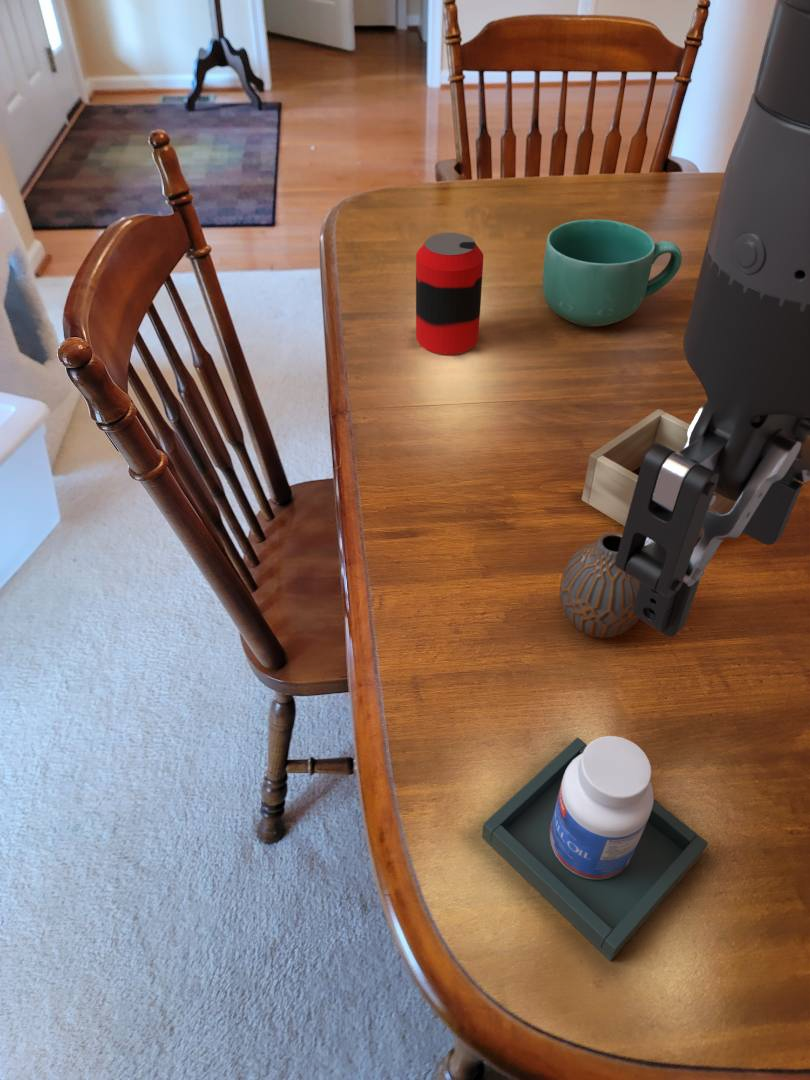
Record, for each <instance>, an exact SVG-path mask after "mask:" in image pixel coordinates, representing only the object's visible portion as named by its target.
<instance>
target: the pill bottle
mask: <svg viewBox="0 0 810 1080" xmlns="http://www.w3.org/2000/svg"><path fill="white" fill-rule="evenodd" d="M586 745H587V747H586V748H585V749H584V751H583V753H582V754H580V755H579V756H577V757H576V758H575V759H574V760H573V761H572V762H571V763H570V764H569V766H568V767H567V769H566V771H565V773H564V776H563V779H562V783H561V787H560V790H559V794H558V799H557V802H556V807H555V811H554V814H553V818H552V822H551V828H550V840H551V845H552V848H553V851H554V853H555V855H556V857H557V858H558V860H559V861H560V862H561V863H562V864H563V866H565V867H566V868H567V869H568V870H569V871H571V872H572V873H574V874H576V875H578V876H580V877H583V878H587V879H593V880H601V879H607V878H610V877H613V876H615V875H617V874H618V873H620V872H621V871H622V870H623V869H624V868H625V867H626V866H627V865H628V863H629V862H630V860H631V858H632V856H633V853H634V851H635V849H636V846H637V844H638V842H639V840H640V837H641V835H642V833H643V830H644V828H645V825H646V823H647V821H648V818H649V816H650V813H651V810H652V807H653V800H654V799H655V798H654V789H653V784H652V782H651V780H652V766H651V763H650V760H649V758H648V756H647V755H646V753H645V752H644V750H643V749H642V748H641V747H640V746H638V745H637V744H636V743H634V742H633V741H631V740H630V739H627V738H625V737H621V736H616V735H604V736H601V737H597V738H595V739H594V740H592V741H591V742H589V743H588V744H586Z"/></svg>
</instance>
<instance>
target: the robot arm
mask: <svg viewBox="0 0 810 1080" xmlns="http://www.w3.org/2000/svg"><path fill="white" fill-rule="evenodd" d="M773 6H774V7H773V10H772V15H771V18H770V22H769V26H768V30H767V35H766V38H765V43H764V46H763V51H762V55H761V58H760V62H759V66H758V70H757V74H756V78H755V82H754V86H753V92H752V94H751V97H750V100H749V104H748V107H747V110H746V112H745V116H744V119H743V121H742V123H741V125H740V126H741V127H740V129H739V132H738V134H737V137H736V139H735V142H734V143H733V146H732V150H731V152H730V154H729V158H728V161H727V163H726V167H725V170H724V173H723V177H722V181H721V185H720V189H719V193H718V198H717V201H716V205H715V210H714V213H713V218H712V222H711V226H710V231H709V234H708V238H707V242H706V246H705V250H704V254H703V257H702V258H703V259H702V261H701V262H702V263H701V266H700V271H699V275H698V278H697V283H696V286H695V287H696V288H695V291H694V295H693V298H692V304H691V307H690V311H689V315H688V320H687V324H686V327H685V332H684V335H683V342H682V343H683V344H682V345H683V346H682V347H683V354H684V357H685V360H686V362H687V364H688V365H689V367H690V369H691V371H692V372H693V374H695V376H696V377H697V379H698V381H699V382H700V385H701V386H702V388H703V390H704V392H705V395H706V399H707V400H705V402H703V404H702V405H701V406H700V408H699V409H698V410H697V413H696V414H695V416H694V418H693V420H692V421H691V423H690V426H689V428H688V431H687V436H688V441H687V444H686V445H685V447H684V449H683V450H681V451H680V452H675V451H673V450H671V449H670V448H668V447H666V446H664V445H662V444H660V443H657V444H655V445H653V446H652V447H651V448H650V449H649V451H648V452H647V453H646V455H645V457H644V459H643V461H642V465H641V466H640V467H639V468H640V469H639V471H638V479H637V483H636V487H635V490H634V494H633V498H632V502H631V505H630V509H629V513H628V516H627V520H626V524H625V526H623V527H624V528H623V532H622V534H623V535H622V538H621V542H620V546H619V550H618V553H617V557H616V561H615V566H616V567H618V568H619V569H621V570H623V571H624V572H626V573H627V574H629V575H630V576H632V577H634V578H635V579H637V580H638V581H640V582H641V583H640V586H639V590H638V594H637V598H636V601H635V605H634V611H635V616H637V617H638V618H640V619H639V620H641V621H642V622H644V623H645V624H647V625H648V626H650V627H652V628H653V629H655V630H656V631H658V632H659V633H661V634H662V635H664V636H665V637H668V638H673V637H675V636H676V635H677V634H678V633H679V632H680V631H682V630H683V629H684V628H685V626H686V623H687V620H688V617H689V613H690V611H691V609H692V605H693V602H694V599H695V596H696V593H697V590H698V587H699V585H700V581H701V579H702V577H703V576H704V573H705V569H706V568H707V567H708V565H709V563H710V562H711V560H712V558H713V556H714V554H715V553H716V551H717V550H718V548H719V546H720V545H721V544H722V542H724V541H726V540H735V539H737V538H738V537H740V536H741V534H742V533H743V534H745V535H747V536H749V537H751V538H752V539H754V540H756V541H758V542H760V543H762V544H764V545H767V546H770V545H774V544H775V543H776V542H777V541H778V540H780V538H781V537H782V536H783V534H784V531H785V529H786V527H787V524H788V523H789V519H790V517H791V516H792V515H791V514H792V512H793V511H794V506H795V505H796V503H797V500H798V498H799V495H800V493H801V490H802V488H803V486H804V484H807V483H808V482H809V481H810V0H775V3H774V5H773ZM714 492H716V493H718V494H720V495H721V496H723V497H725V498H727V499H729V500H732V501H736V503H735V504H734V506H733V508H732V509H731V510H730V511H729V512H727V513H725V514H720V513H719V512H717V511H715V510H713V509H711V508H709V506H712V505H713V503H714V502H715V500H716V495H715V494H713V493H714ZM701 528H702V529H703V535H702V536H701V537H699V538H698V536H699V533H700V531H701ZM698 539H699V540H698Z"/></svg>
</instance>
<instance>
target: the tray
mask: <svg viewBox="0 0 810 1080" xmlns="http://www.w3.org/2000/svg"><path fill="white" fill-rule="evenodd" d="M587 745H588V744H587V743H586V742H584V741H583V740H582V739H581V738H579V737H576V738H575V739H573V740H572V742H571V743H569V744H568V745H567V746H566V747H565V748H564V749H563V750H562V751H561V752H560V753H558V754H557V755H556V756H555V757H554V758H553V759H552V760H551V761H550V762H548V763H547V764H546V766H545V767H543V768H542V769H541V770H540V771H539V772H537V773H536V775H535V776H533V777H532V778H531V779H530V780H529V781H528V782H527V783H526V784H525V785H524V786H522V788H520V789H519V790H518V791H517V792H516V793H515V794H514V795H513V796H512V797H511V798H509V800H507V801H506V802H505V803H504V804H503V805H502V806H501V807H499V809H498V810H497V811H495V812H494V813H493V814H492V815H491V816H490V817H489V818H488V819H487V820H485V822H483V824H482V833H481V838H482V839H483V840H484V841H485V842H486V843H487V844H488V846H490V847H491V848H492V849H493V850H494V851H495V852H496V853H497V854H498V855H499V856H501V857H502V858H503V859H504V861H505V862H506V863H508V864H509V866H511V867H512V869H514V870H515V871H516V872H517V873H518V874H519V875H520V876H521V877H522V878H523V879H524V880H525V881H526V882H527V883H528V884H530V885H531V887H532V888H533V889H535V890H536V891H537V892H538V893H539V894H540V895H541V897H543V898H544V899H545V900H546V901H547V902H548V903H549V904H550V905H551V906H552V907H553V908H554V909H555V910H556V911H557V912H558V913H559V914H561V916H563V918H564V919H566V920H567V921H568V922H569V923H570V924H571V925H572V926H573V927H574V928H575V929H576V930H577V931H578V932H579V933H580V934H581V935H582V936H583V937H584V938H585V939H586V940H587V941H588V942H590V943H591V944H592V945H593V946H594V947H595V949H597V950H598V951H599V953H601V954H602V955H603V956H604V957H605V958H606V959H607V960H608V961H609V962H611V961H613V960H614V958H615V957H616V956H617V955H618V954H619V953H620V951H621V950H622V949H624V947H625V945H626V944H627V943H628V942H629V941H630V940H631V939H632V938H633V936H635V934H636V933H637V931H639V929H640V928H641V927H643V925H644V924H645V922H646V921H647V920H648V919H649V918H650V917H651V915H652V914H653V913H654V912H655V911H656V910H657V909H658V907H659V906H660V905H661V904H662V903H663V902H664V901H665V899H666V898H667V897H668V896H669V895H670V893H671V892H672V891H674V889H675V888H676V887H677V886H678V884H679V883H680V882H681V881H682V880H683V879H684V877H685V876H686V875H687V874H688V873H689V872H690V870H691V869H692V868H693V867H694V866H695V865H696V863H697V862H698V861H699V860H700V859H701V857H702V856H703V853H705V850H706V848H707V846H708V845H709V842H708V841H707V840H705V839H704V838H703V837H702V836H700V835H699V834H698V833H697V832H696V831H694V830H693V829H692V828H691V827H689V825H687V824H686V823H684V822H683V821H682V820H680V819H679V818H678V817H677V816H676V815H675V814H673V813H672V812H671V811H669V809H667V808H666V807H665V806H663V805H662V804H661V803H659V802H658V801H657V800H656V799H655V798H653V799H654V800H653V807H652V810H651V813H650V816H649V818H648V821H647V823H646V825H645V828H644V830H643V833H642V835H641V837H640V840H639V842H638V844H637V846H636V849H635V851H634V853H633V856H632V858H631V860H630V862H629V863H628V865H627V866H626V867H625V868H624V869H623V870H622V871H621V872H620V873H618V874H617V875H615V876H613V877H610V878H607V879H601V880H593V879H587V878H583V877H580V876H578V875H576V874H574V873H572V872H571V871H569V870H568V869H567V868H566V867H565V866H563V864H562V863H561V862H560V861H559V860H558V858H557V857H556V855H555V853H554V851H553V848H552V845H551V840H550V828H551V822H552V818H553V814H554V811H555V807H556V802H557V799H558V794H559V790H560V787H561V783H562V779H563V776H564V773H565V771H566V769H567V767H568V766H569V764H570V763H571V762H572V761H573V760H574V759H575V758H576V757H577V756H579V755H580V754H582V753H583V751H584V749H585V748H586V747H587Z"/></svg>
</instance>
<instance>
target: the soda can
mask: <svg viewBox="0 0 810 1080" xmlns="http://www.w3.org/2000/svg"><path fill="white" fill-rule="evenodd" d="M483 270H484V253H483V251H482V250H481V249H480V247H479V246H478V245H477V243H476V241H475V240H474V239H473V238H472V237H471V236H469V235H466V234H463V233H458V232H441V233H436V234H433V235H431V236H429V237H427V238H426V240H425V241H424V243H423V244H422V245H421V246H420V248H418V250H417V252H416V255H415V338H416V339H415V340H416V341H417V343H418V345H420V346H421V347H422V348H423V349H424V350H426V351H428V352H429V353H430V352H431V353H433V354H436V355H441V356H442V355H445V356H449V355H452V356H453V355H458V354H462V353H466V352H468V351H469V350H471V349H472V348H474V346H475V345H477V343H478V341H479V336H480V320H481V307H482V306H481V305H482V304H481V303H482V290H483V289H482V287H483V274H484V273H483Z"/></svg>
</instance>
